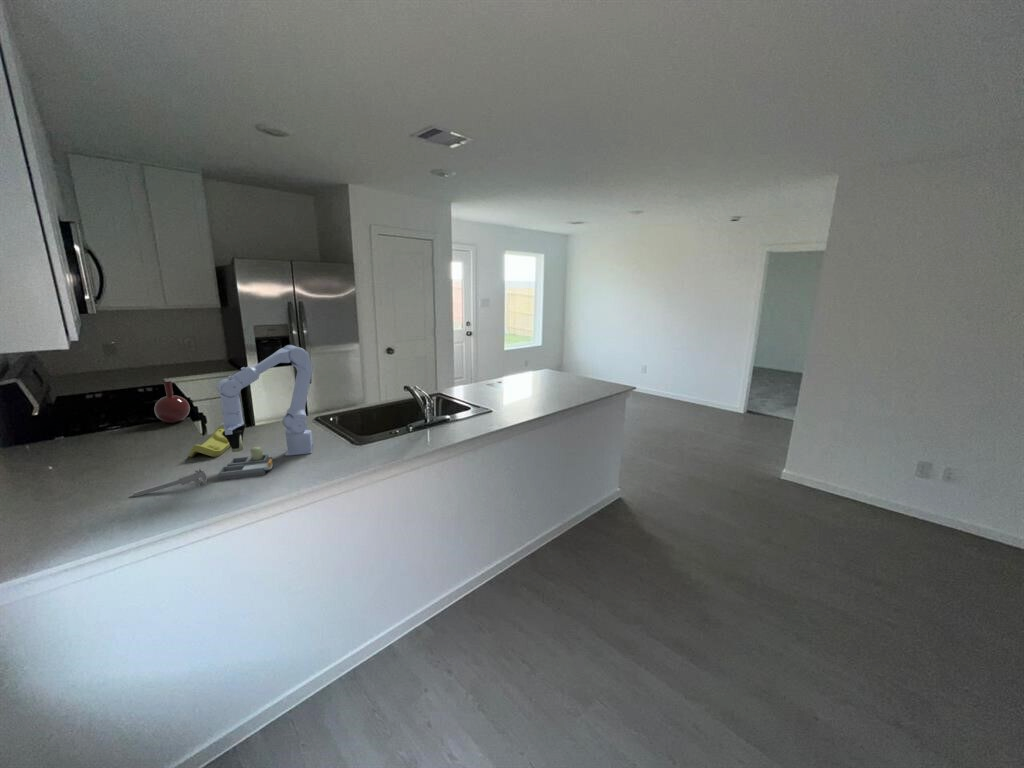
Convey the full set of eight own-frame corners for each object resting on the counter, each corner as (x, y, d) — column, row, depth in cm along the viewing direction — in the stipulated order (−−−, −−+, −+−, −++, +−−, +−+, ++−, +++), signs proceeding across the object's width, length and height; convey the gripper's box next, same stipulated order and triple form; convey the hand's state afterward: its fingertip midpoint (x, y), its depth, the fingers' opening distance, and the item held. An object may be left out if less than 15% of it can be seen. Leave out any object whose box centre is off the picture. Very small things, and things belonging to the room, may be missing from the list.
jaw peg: (233, 448, 150) (231, 434, 149) (244, 447, 151) (242, 433, 150) (230, 452, 147) (227, 438, 145) (241, 451, 148) (239, 437, 146)
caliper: (207, 484, 138) (205, 467, 136) (207, 485, 137) (204, 469, 135) (130, 496, 129) (126, 478, 127) (129, 498, 128) (125, 480, 126)
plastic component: (219, 452, 157) (191, 443, 154) (213, 467, 159) (186, 458, 156) (243, 431, 176) (218, 422, 173) (237, 444, 177) (213, 436, 175)
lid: (272, 465, 150) (272, 458, 149) (270, 469, 147) (270, 462, 146) (245, 468, 147) (244, 461, 146) (242, 472, 144) (241, 465, 143)
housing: (272, 459, 158) (270, 443, 156) (264, 474, 145) (262, 457, 144) (230, 463, 153) (228, 447, 151) (219, 479, 141) (216, 461, 139)
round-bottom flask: (181, 425, 190) (174, 385, 185) (150, 426, 187) (142, 385, 183) (197, 417, 202) (191, 378, 198) (168, 417, 200) (160, 379, 195)
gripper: (225, 406, 151) (230, 440, 154) (212, 418, 137) (218, 455, 141) (247, 405, 153) (251, 438, 156) (236, 417, 140) (241, 452, 143)
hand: (237, 446), depth 149 cm, fingers closed on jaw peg, 4 cm apart
